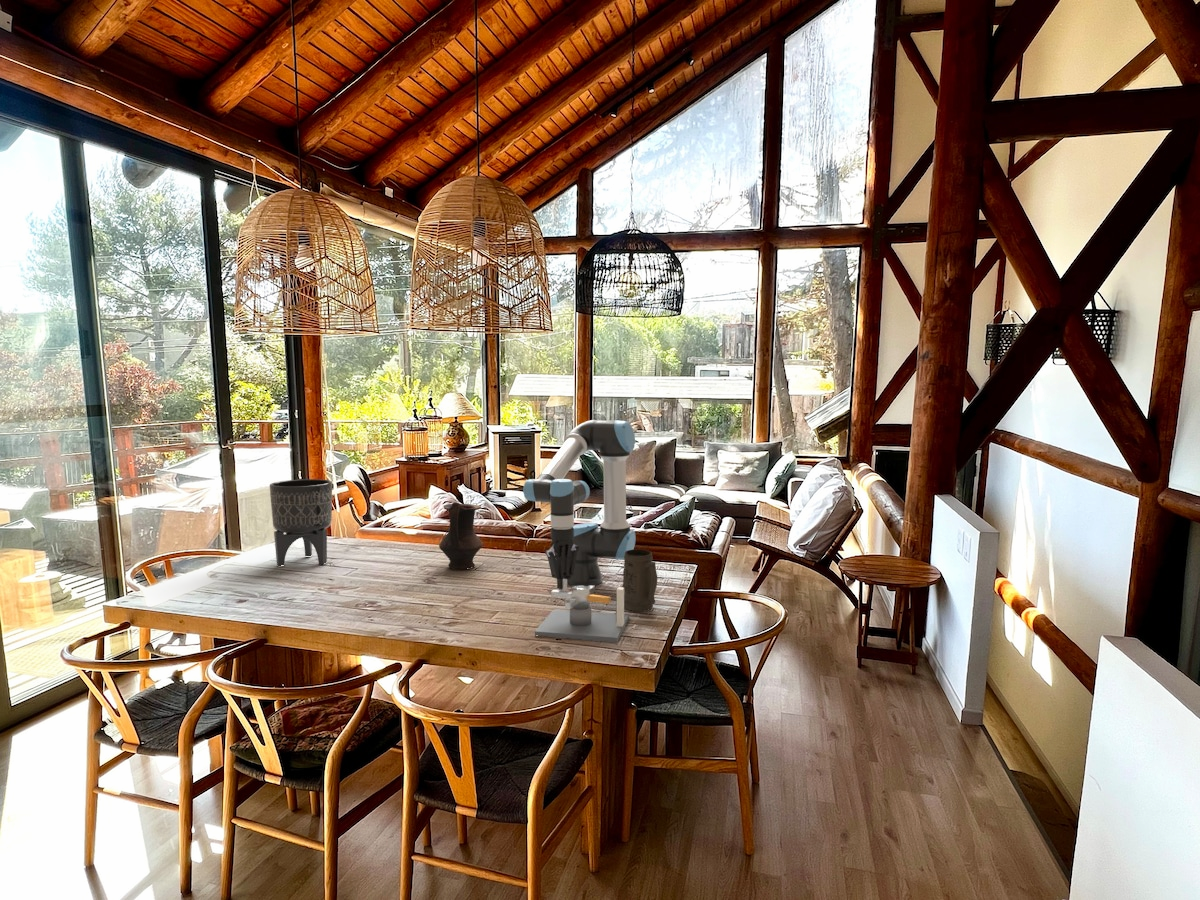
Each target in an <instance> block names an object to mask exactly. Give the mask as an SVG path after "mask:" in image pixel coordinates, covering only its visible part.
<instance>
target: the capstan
mask: <svg viewBox="0 0 1200 900" xmlns="http://www.w3.org/2000/svg"><path fill="white" fill-rule="evenodd" d="M594 592H596V585H593V586H591V585H590V586H583V585H579V586H571V589H570V591H569V590H567V591H565V592H563V591H560V590H559V589H553V590H551V593H550V594H551V595H550V597H553V598H559V599H562V598H567V599H568V600H567V599H566V601H565V602H564V609H566V610H570V609H571V608H574V609H587V608H589V607H590V606H591V602H592V603H599V604H606V605H608V604H610V603H611V599H612V598H611V596H607V595H600V594H593V593H594Z"/></svg>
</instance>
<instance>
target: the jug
mask: <svg viewBox="0 0 1200 900" xmlns="http://www.w3.org/2000/svg"><path fill="white" fill-rule="evenodd" d="M480 509H482V506H480V505H477V504H476V505H475V504H470V503H459V502H457V501H453V502H452V503H447V504H445V505H444V506H443V510H446V511H448V512H449V530H448V532H447V534H445V536H444V537H443V538H442V540H441V541H440V543H439V544H438V547H439V549H440V550H441V551H442V552H443V554H444V555H445V556H446V557H447V559H448V560H449V562H448V563H449V564H448V568H449V569H451V570H455V569H467V568H471V567H474V566H475V567H476V564H475V563H474V561H473V560H474V557H476V555H477V554H478V552H479V551H480V550H481V549H482V548H483V545H484V544H483V542H482V539H480V537H479V535H477V534H476V532H475V530H474V524H475V516H476V515H475V513H476V511H477V510H478V511H479V510H480ZM475 567H474V568H475Z"/></svg>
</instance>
